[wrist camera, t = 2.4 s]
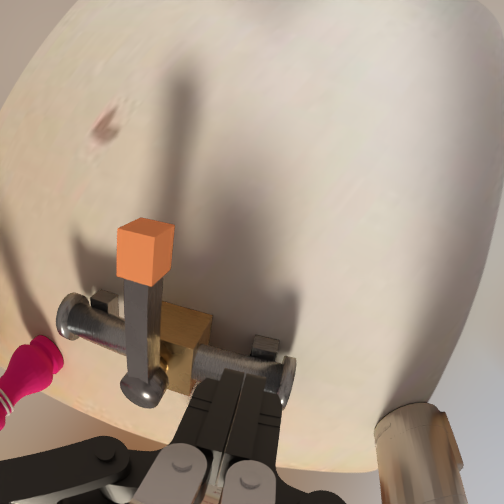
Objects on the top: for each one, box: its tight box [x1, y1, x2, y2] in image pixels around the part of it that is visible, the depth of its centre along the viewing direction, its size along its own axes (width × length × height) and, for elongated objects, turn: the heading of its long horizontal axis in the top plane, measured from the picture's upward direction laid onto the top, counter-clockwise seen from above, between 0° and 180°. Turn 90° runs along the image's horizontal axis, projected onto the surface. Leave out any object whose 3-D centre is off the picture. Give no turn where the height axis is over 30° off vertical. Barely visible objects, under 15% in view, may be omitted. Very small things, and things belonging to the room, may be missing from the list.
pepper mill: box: [0, 335, 64, 431], centre depth 29 cm, size 7×7×20 cm
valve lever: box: [117, 218, 175, 408], centre depth 21 cm, size 16×4×3 cm, turn 170°
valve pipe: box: [56, 289, 296, 410], centre depth 28 cm, size 24×6×7 cm, turn 80°
